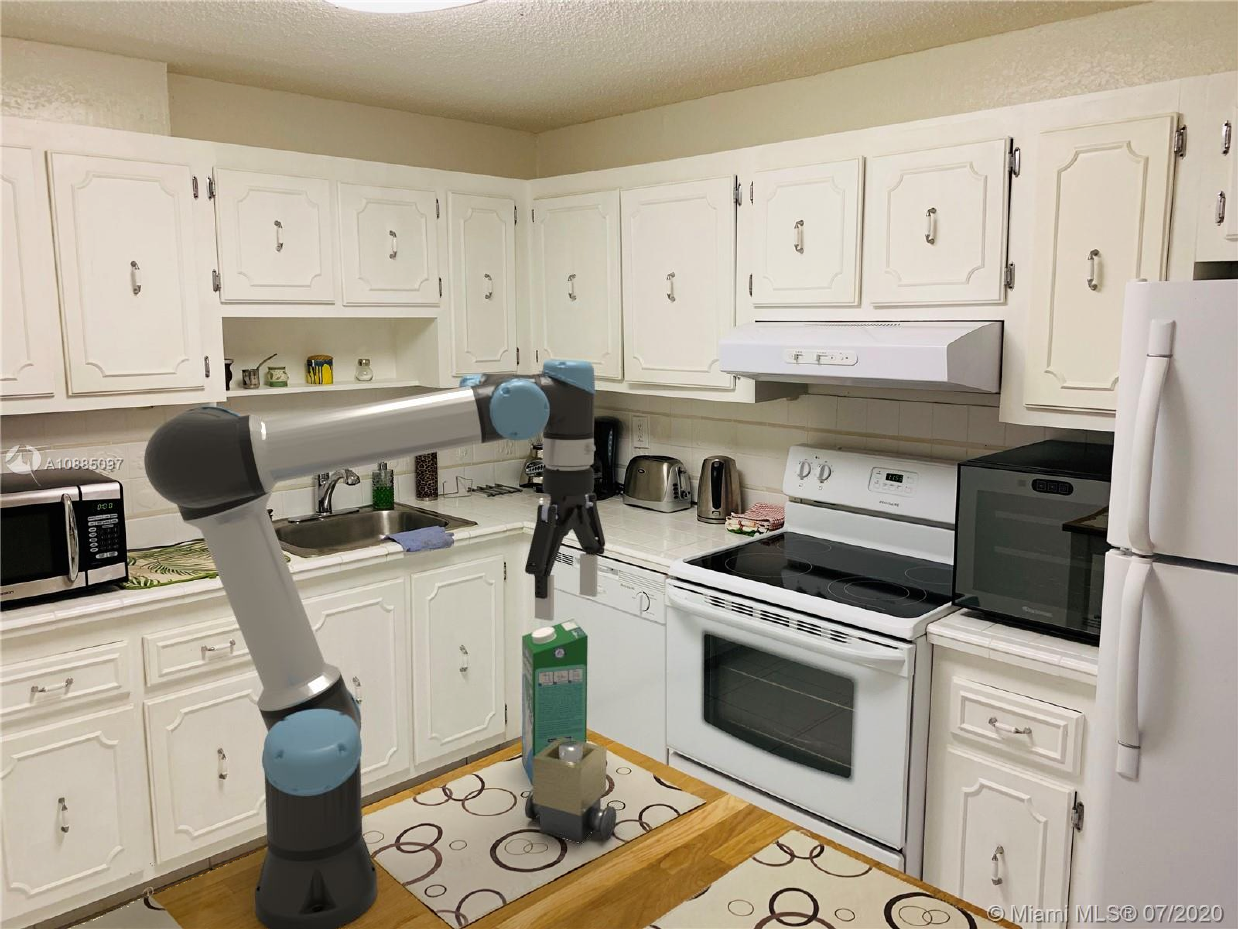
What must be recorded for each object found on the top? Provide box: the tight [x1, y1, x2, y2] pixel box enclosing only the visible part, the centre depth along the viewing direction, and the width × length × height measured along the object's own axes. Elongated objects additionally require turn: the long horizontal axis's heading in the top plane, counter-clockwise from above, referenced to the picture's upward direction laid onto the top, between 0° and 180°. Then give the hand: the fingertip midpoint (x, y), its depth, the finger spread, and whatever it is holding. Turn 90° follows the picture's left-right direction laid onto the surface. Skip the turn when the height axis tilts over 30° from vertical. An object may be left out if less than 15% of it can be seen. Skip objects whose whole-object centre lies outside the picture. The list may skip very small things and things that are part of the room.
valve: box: [524, 741, 617, 844], centre depth 136 cm, size 13×6×13 cm, turn 64°
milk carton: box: [521, 619, 589, 786], centre depth 153 cm, size 9×9×25 cm
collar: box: [532, 737, 607, 816], centre depth 136 cm, size 8×8×7 cm
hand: (567, 606), depth 137 cm, fingers open, 13 cm apart
